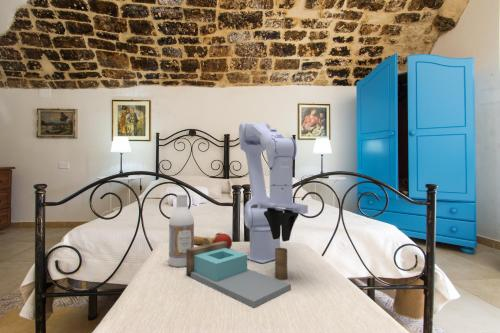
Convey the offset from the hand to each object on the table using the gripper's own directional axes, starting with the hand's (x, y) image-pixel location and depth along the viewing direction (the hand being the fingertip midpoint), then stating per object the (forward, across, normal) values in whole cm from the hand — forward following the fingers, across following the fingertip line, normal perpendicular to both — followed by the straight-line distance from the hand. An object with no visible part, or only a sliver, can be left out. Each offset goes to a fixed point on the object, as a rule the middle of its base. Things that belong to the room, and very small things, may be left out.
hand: (281, 239), depth 69 cm
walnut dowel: (+9, 0, 0) cm, 9 cm away
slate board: (+9, -6, -10) cm, 15 cm away
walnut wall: (+9, -17, -10) cm, 22 cm away
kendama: (+10, -34, +4) cm, 36 cm away
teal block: (+8, -12, -10) cm, 17 cm away
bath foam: (+10, -27, -12) cm, 31 cm away
